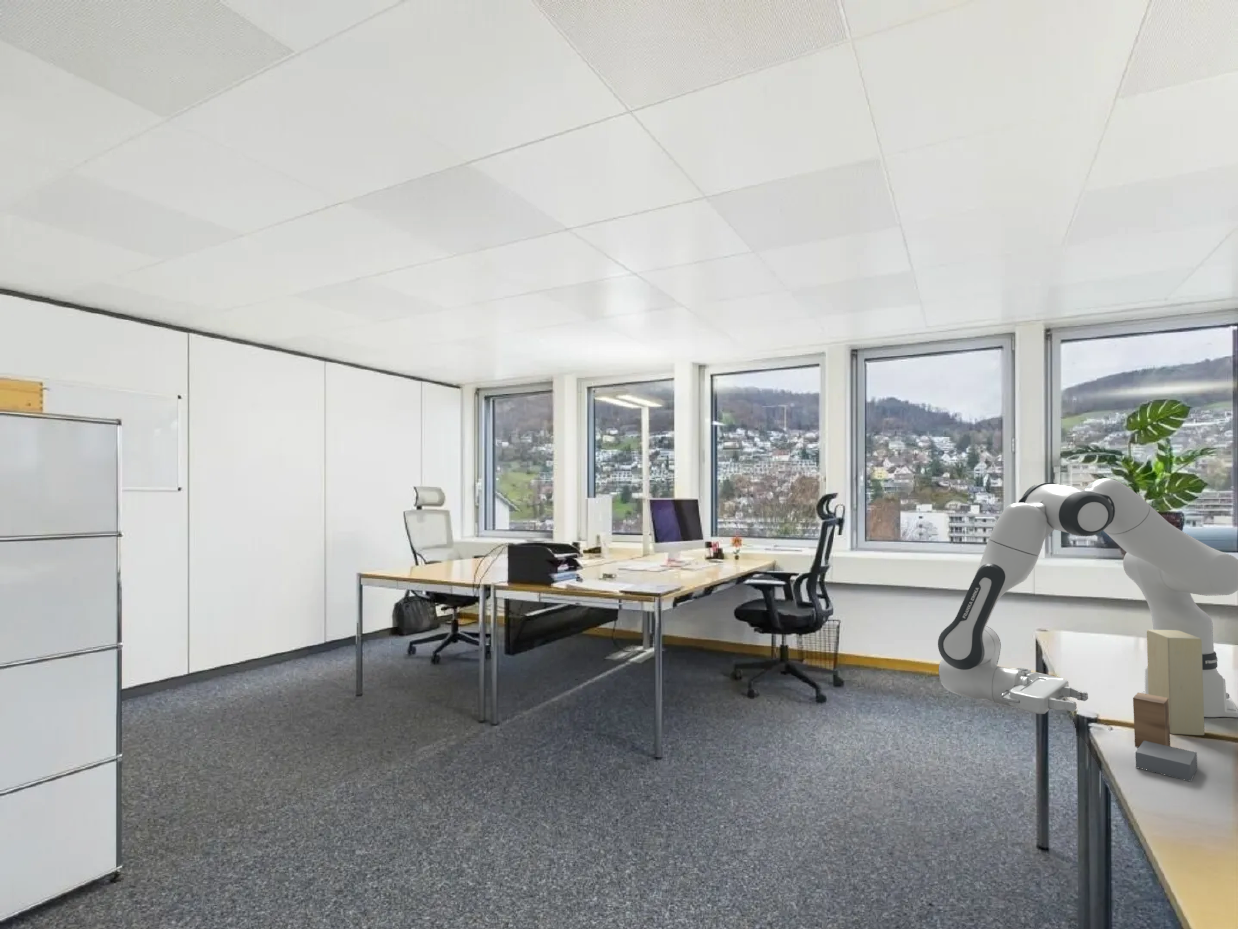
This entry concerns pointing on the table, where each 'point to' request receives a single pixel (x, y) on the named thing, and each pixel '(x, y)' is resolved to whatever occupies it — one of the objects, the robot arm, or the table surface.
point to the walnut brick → (1151, 719)
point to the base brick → (1166, 760)
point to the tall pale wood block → (1177, 678)
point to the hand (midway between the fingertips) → (1081, 701)
